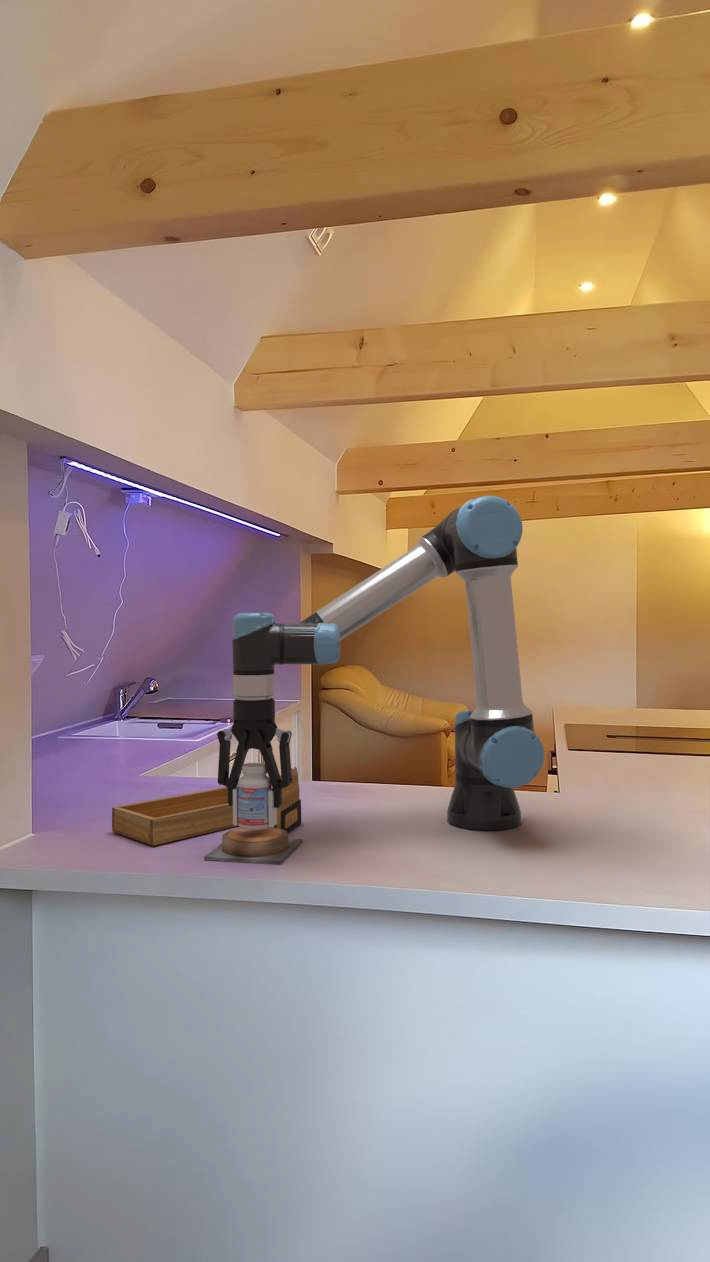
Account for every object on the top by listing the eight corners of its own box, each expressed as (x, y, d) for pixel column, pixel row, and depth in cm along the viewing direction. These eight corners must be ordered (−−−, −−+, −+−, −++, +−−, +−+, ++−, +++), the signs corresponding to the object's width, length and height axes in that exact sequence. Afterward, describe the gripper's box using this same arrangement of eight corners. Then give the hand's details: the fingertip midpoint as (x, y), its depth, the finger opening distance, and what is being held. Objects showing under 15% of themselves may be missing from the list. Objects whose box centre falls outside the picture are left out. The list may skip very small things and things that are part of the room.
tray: (235, 807, 177) (235, 782, 177) (279, 818, 166) (278, 792, 166) (111, 835, 154) (111, 806, 154) (153, 850, 144) (152, 819, 144)
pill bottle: (233, 830, 139) (233, 767, 139) (244, 821, 145) (243, 761, 145) (266, 831, 138) (266, 768, 138) (275, 822, 144) (275, 762, 144)
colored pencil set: (282, 837, 150) (281, 775, 150) (273, 836, 151) (273, 775, 151) (301, 823, 160) (301, 765, 160) (293, 823, 161) (292, 765, 161)
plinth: (302, 841, 147) (302, 825, 147) (280, 864, 133) (280, 846, 133) (232, 838, 150) (232, 822, 150) (204, 860, 136) (204, 842, 136)
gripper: (310, 696, 143) (311, 821, 143) (212, 695, 147) (213, 817, 147) (298, 700, 136) (299, 832, 136) (196, 698, 140) (197, 827, 140)
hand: (255, 824), depth 141 cm, fingers closed on pill bottle, 6 cm apart
